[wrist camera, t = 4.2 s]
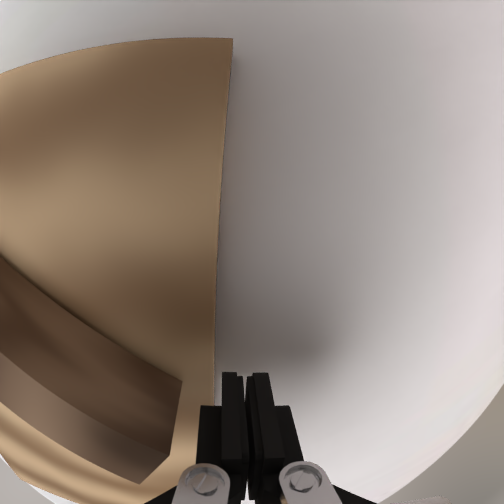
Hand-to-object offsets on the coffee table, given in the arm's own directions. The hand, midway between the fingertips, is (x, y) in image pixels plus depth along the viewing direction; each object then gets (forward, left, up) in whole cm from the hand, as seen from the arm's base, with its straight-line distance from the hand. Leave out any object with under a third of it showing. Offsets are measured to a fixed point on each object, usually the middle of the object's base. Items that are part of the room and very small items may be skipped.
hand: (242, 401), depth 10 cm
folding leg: (-3, -10, -1) cm, 11 cm away
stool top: (+3, -11, -3) cm, 12 cm away
